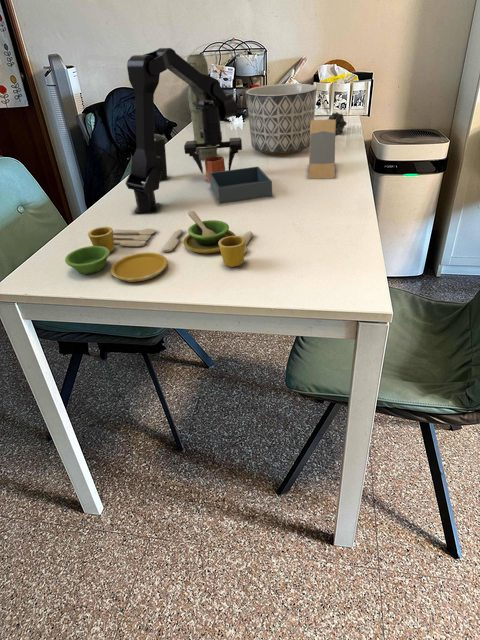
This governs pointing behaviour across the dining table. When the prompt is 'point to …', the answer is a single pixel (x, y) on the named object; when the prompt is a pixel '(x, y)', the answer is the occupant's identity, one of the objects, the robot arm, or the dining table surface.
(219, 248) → the tableware set
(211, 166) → the coffee cup
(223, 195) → the tote
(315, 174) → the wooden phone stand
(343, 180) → the dining table surface
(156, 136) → the drinking cup
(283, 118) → the planter
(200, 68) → the thermos
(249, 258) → the dining table surface
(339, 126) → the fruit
